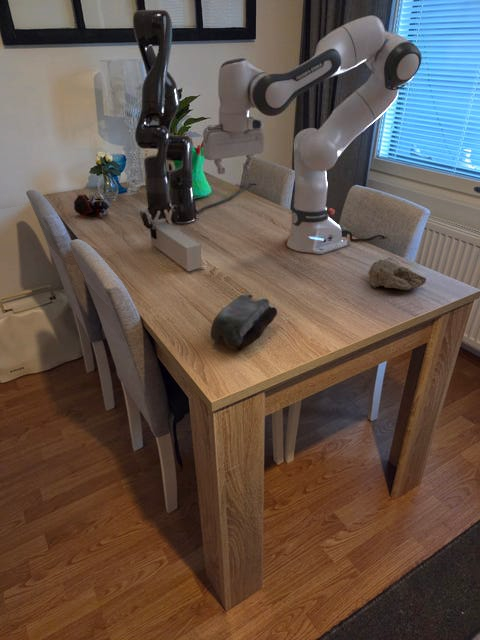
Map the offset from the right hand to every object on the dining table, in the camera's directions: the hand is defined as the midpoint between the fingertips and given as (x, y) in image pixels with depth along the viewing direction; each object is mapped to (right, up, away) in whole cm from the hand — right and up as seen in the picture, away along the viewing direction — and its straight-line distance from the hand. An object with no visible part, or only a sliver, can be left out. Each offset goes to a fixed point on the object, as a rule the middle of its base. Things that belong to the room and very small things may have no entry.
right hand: (234, 171), depth 137 cm
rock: (+3, -50, -25) cm, 56 cm away
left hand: (-26, -16, +21) cm, 37 cm away
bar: (-20, -23, +16) cm, 35 cm away
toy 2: (-22, +15, +80) cm, 84 cm away
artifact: (+48, -34, 0) cm, 59 cm away
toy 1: (-61, -2, +52) cm, 80 cm away
